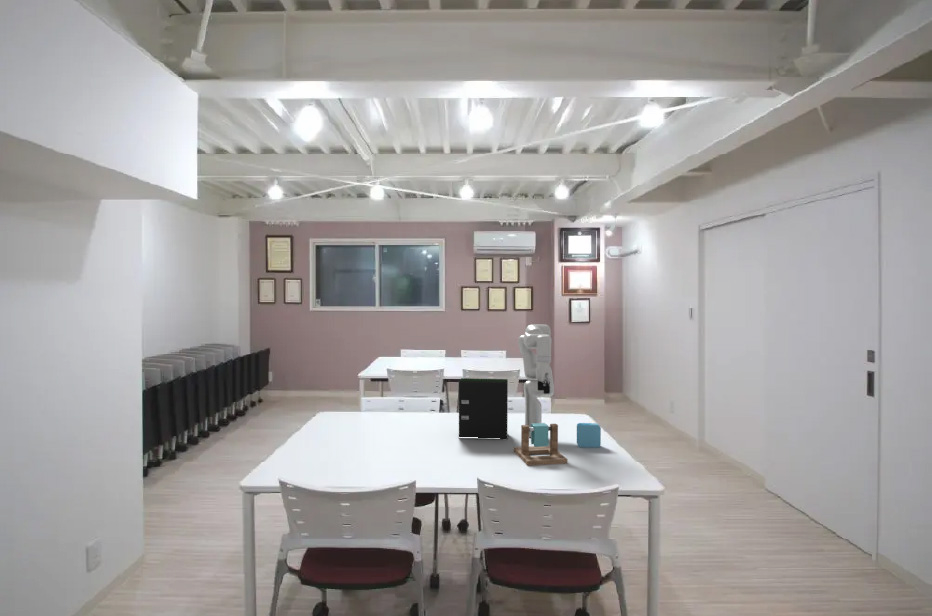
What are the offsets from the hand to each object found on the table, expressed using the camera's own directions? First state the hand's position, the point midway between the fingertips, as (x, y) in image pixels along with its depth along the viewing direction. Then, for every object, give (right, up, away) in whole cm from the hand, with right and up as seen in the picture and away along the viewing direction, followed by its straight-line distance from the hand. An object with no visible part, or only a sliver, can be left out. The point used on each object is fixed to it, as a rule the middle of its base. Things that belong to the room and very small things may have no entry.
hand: (543, 391), depth 279 cm
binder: (-30, -30, +28) cm, 51 cm away
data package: (+25, -31, +7) cm, 40 cm away
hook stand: (-4, -31, -12) cm, 33 cm away
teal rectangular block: (-4, -25, -12) cm, 28 cm away
